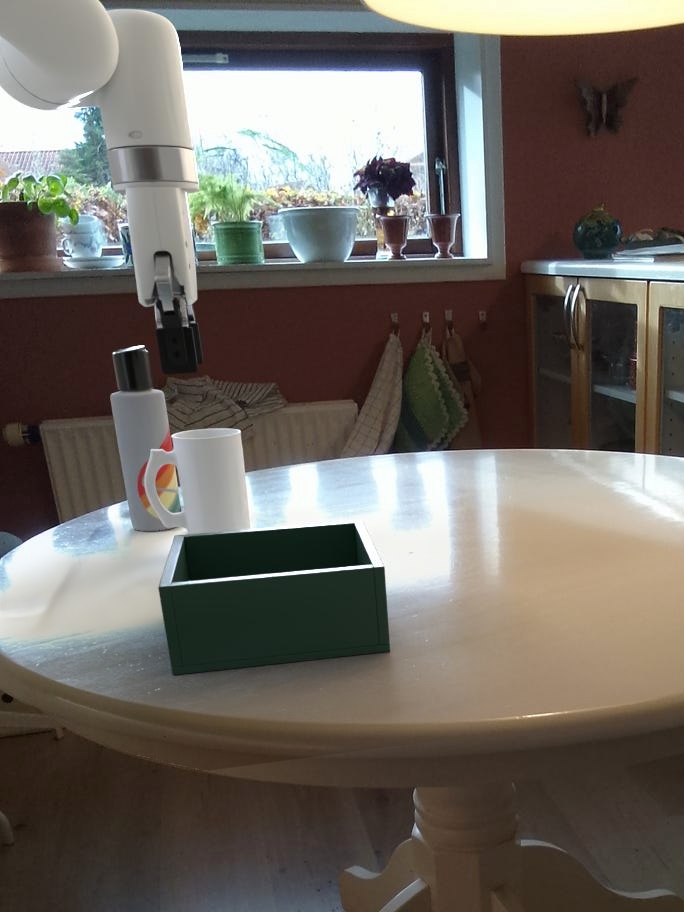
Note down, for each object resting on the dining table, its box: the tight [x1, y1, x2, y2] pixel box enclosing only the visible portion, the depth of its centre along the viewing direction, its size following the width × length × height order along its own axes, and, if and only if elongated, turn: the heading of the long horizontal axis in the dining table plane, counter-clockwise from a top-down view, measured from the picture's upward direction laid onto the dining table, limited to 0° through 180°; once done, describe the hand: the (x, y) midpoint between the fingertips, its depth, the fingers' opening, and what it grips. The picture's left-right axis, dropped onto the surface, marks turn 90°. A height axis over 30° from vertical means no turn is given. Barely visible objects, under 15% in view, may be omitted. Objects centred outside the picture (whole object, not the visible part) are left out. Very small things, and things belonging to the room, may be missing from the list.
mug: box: [144, 427, 251, 534], centre depth 95 cm, size 10×7×12 cm, turn 113°
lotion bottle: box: [109, 345, 182, 532], centre depth 104 cm, size 6×6×20 cm
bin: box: [157, 520, 391, 676], centre depth 73 cm, size 16×15×7 cm
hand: (184, 368), depth 90 cm, fingers open, 9 cm apart
